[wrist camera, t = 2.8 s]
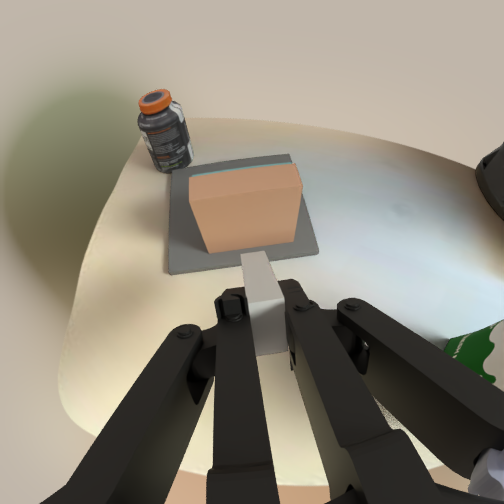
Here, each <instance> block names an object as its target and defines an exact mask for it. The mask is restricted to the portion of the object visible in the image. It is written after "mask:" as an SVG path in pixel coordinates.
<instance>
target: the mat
mask: <svg viewBox="0 0 504 504" xmlns="http://www.w3.org/2000/svg"><path fill="white" fill-rule="evenodd" d="M287 162H292V161H291V158H290V155H289V154H283V155H272V156H263V157H254V158H246V159H238V160H231V161H224V162H217V163H211V164H205V165H199V166H193V167H187V168H182V169H177V170H172V178H171V193H170V214H169V273H170V275H176V274H183V273H191V272H198V271H206V270H213V269H220V268H227V267H235V266H242V262H241V254H245V253H252V252H259V251H265V253H266V255H267V258H268V260H269V262H270V261H277V260H283V259H290V258H297V257H304V256H310V255H317V254H318V253H319V248H318V245H317V241H316V238H315V234H314V231H313V227H312V224H311V221H310V217H309V214H308V211H307V207H306V204H305V201H304V198H303V194H301V201H300V207H299V213H298V218H297V224H296V230H295V236H294V241H293V242H289V243H282V244H274V245H267V246H260V247H253V248H246V249H239V250H232V251H225V252H218V253H211V254H209V252H208V250H207V247H206V245H205V242H204V240H203V237H202V234H201V232H200V229H199V227H198V224H197V221H196V219H195V216H194V213H193V211H192V208H191V205H190V203H189V177H192V175H197V174H203V173H209V172H215V171H222V170H228V169H235V168H243V167H251V166H259V165H268V164H277V163H287Z"/></svg>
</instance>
